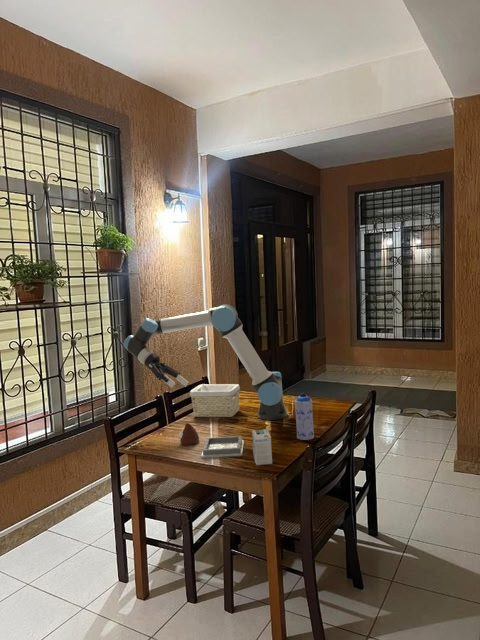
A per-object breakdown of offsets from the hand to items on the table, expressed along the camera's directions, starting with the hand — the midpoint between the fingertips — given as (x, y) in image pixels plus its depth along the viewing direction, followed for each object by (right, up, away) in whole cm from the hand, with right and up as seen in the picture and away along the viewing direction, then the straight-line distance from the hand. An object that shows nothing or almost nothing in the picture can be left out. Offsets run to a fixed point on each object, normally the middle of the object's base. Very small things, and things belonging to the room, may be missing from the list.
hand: (180, 385), depth 230 cm
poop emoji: (+5, -25, -8) cm, 27 cm away
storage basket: (+16, -20, +34) cm, 43 cm away
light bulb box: (+37, -25, -35) cm, 57 cm away
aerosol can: (+57, -22, -12) cm, 63 cm away
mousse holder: (+21, -25, -21) cm, 39 cm away
